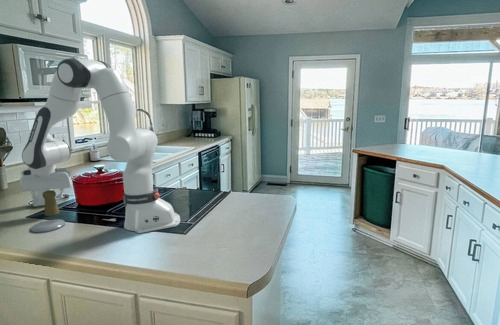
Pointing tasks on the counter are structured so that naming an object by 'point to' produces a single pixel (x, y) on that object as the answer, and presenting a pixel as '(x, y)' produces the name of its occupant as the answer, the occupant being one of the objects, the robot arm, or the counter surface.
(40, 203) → the skincare box
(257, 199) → the counter surface
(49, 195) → the cork
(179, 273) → the counter surface
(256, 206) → the counter surface
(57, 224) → the coaster
